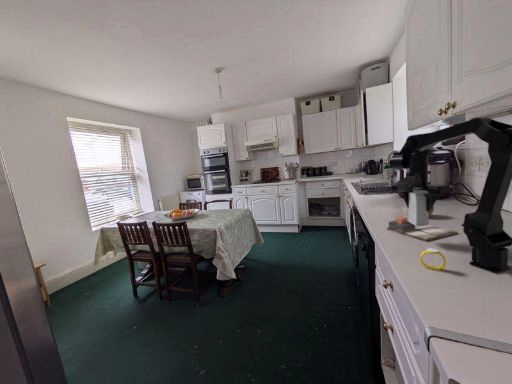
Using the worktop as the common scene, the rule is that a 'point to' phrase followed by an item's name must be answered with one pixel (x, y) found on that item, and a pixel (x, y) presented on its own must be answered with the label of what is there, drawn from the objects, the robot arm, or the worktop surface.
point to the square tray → (420, 231)
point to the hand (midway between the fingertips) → (418, 209)
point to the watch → (433, 251)
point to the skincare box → (418, 209)
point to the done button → (401, 220)
